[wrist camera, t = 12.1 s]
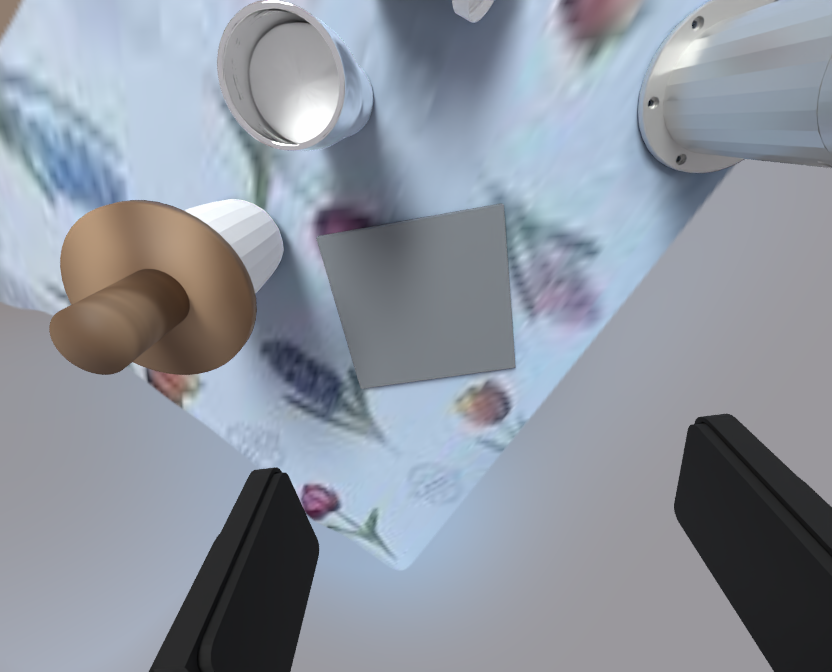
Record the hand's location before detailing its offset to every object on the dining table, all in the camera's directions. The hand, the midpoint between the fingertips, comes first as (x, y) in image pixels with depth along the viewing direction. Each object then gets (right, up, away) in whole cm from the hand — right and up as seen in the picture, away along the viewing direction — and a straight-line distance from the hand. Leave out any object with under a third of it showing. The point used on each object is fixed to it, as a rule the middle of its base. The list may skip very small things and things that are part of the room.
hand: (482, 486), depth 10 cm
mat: (-1, +7, +33) cm, 34 cm away
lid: (-18, +7, +17) cm, 26 cm away
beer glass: (-8, +24, +24) cm, 35 cm away
